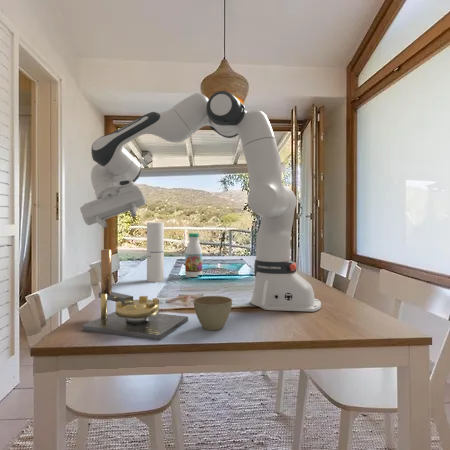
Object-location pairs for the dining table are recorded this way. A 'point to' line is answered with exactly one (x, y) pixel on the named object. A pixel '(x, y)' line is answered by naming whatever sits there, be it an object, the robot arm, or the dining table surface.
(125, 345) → the dining table surface
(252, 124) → the robot arm
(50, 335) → the dining table surface
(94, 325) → the flange base
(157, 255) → the cylindrical container
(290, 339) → the dining table surface
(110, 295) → the crank handle
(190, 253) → the milk bottle
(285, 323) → the dining table surface
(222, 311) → the flower pot
